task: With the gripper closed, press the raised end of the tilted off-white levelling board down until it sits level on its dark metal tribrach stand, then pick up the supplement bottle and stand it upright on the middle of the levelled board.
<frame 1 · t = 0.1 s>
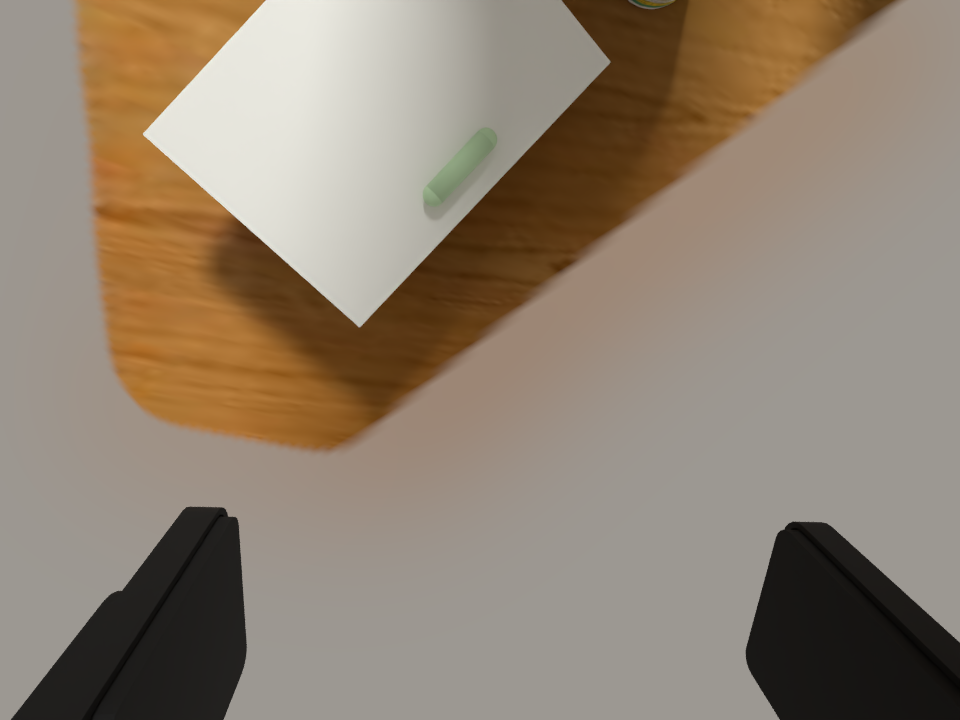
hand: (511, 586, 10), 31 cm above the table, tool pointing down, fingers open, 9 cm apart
level board: (389, 96, 30), point 6 cm above the table, hinge at 9.0°
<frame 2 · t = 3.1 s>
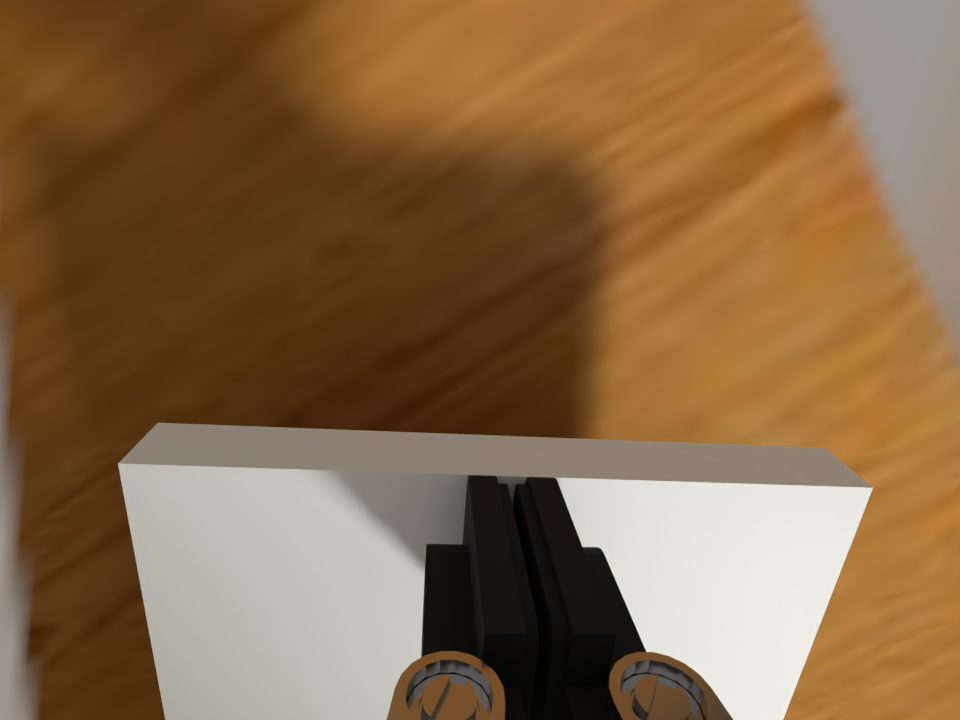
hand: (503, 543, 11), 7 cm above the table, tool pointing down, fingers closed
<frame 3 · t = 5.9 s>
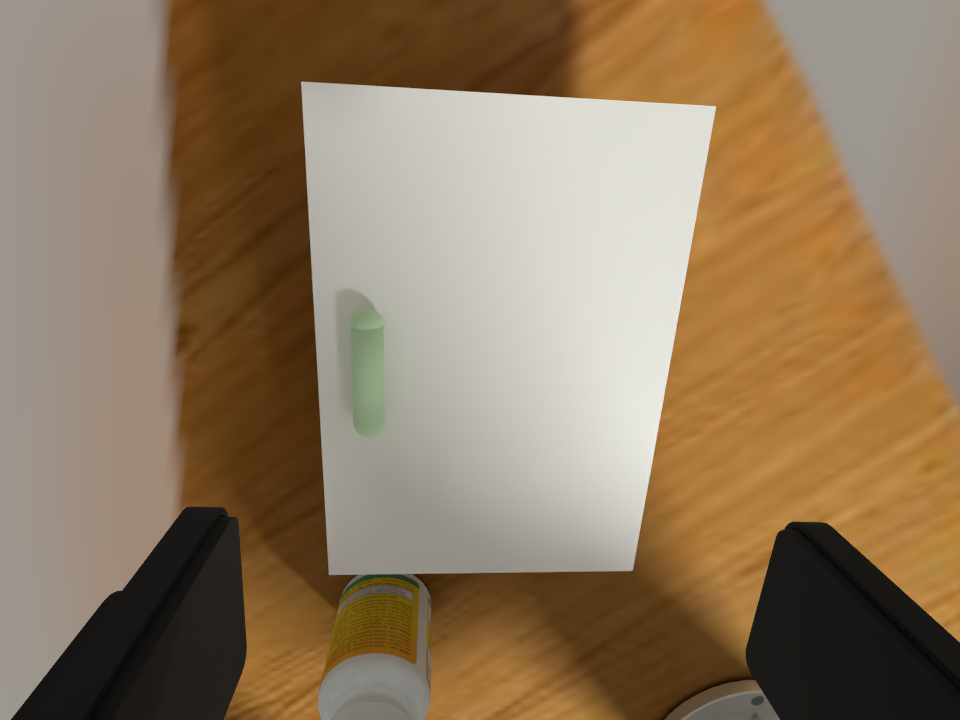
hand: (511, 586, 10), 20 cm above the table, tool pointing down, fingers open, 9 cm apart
supplement bottle: (386, 597, 34), on the table
level board: (496, 369, 23), point 6 cm above the table, hinge at 2.0°
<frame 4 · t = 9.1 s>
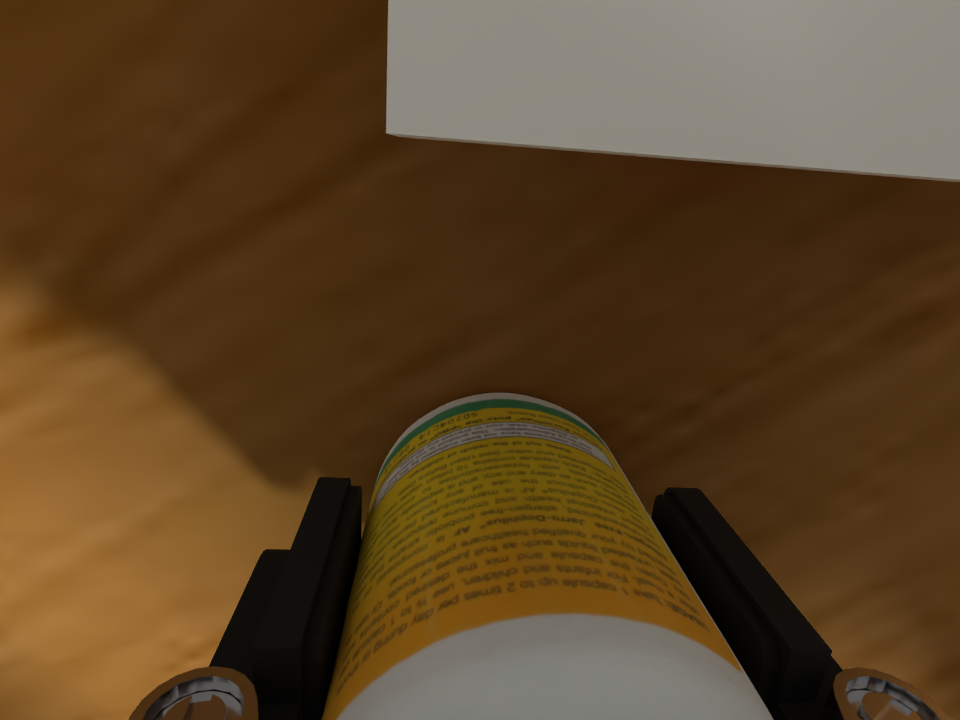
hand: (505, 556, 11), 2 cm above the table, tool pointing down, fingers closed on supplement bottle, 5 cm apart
supplement bottle: (494, 492, 13), on the table, touching gripper
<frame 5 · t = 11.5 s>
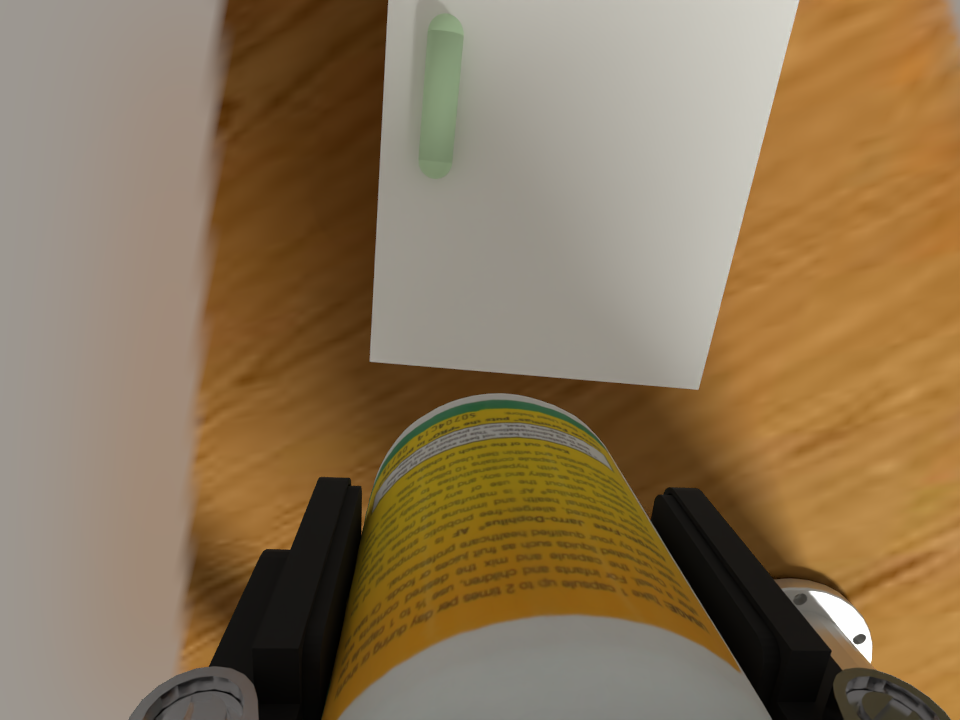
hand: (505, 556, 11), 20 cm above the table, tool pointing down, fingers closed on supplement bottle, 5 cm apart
supplement bottle: (493, 493, 13), point 17 cm above the table, touching gripper
level board: (577, 119, 21), point 6 cm above the table, hinge at 2.0°
when the fingers open (10 cm above the table, at t = 14.3 s): supplement bottle drops 1 cm, resting on level board.
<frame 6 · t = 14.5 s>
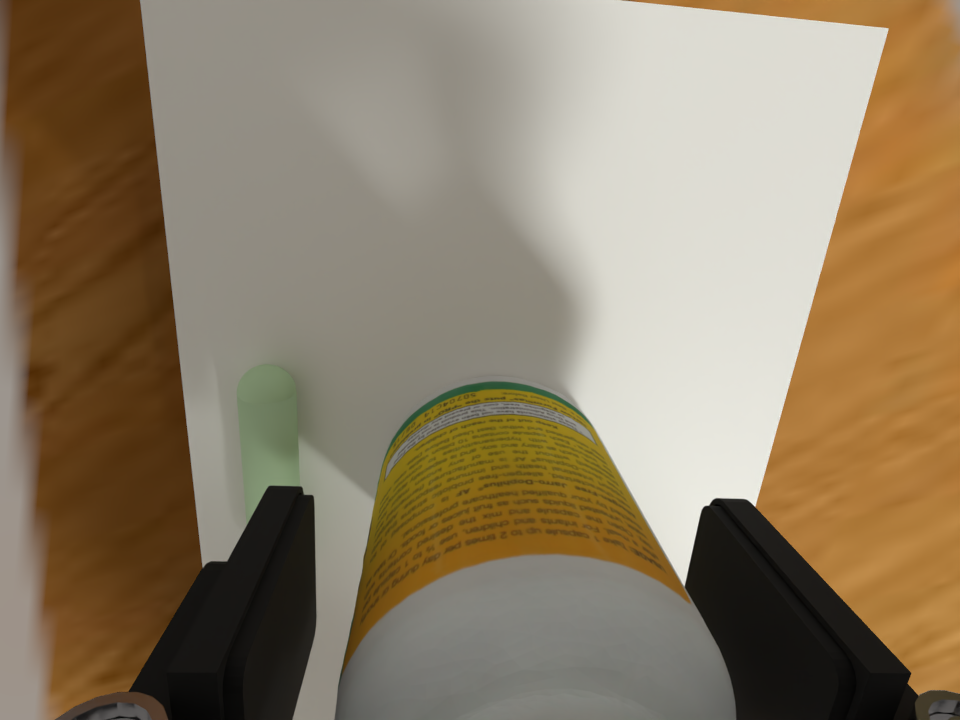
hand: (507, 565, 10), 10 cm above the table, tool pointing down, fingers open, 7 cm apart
supplement bottle: (491, 465, 14), point 6 cm above the table, touching level board
level board: (489, 463, 14), point 6 cm above the table, hinge at 2.0°, touching supplement bottle
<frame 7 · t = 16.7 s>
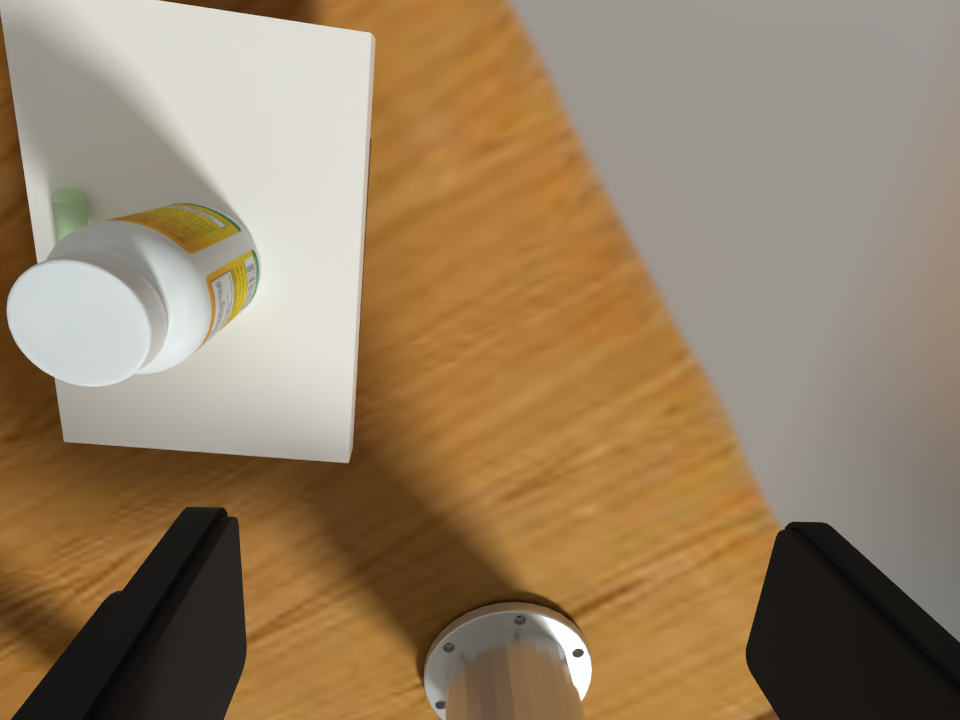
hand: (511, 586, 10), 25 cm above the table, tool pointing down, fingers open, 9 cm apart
supplement bottle: (204, 260, 26), point 6 cm above the table, touching level board
level board: (202, 258, 26), point 6 cm above the table, hinge at 2.0°, touching supplement bottle
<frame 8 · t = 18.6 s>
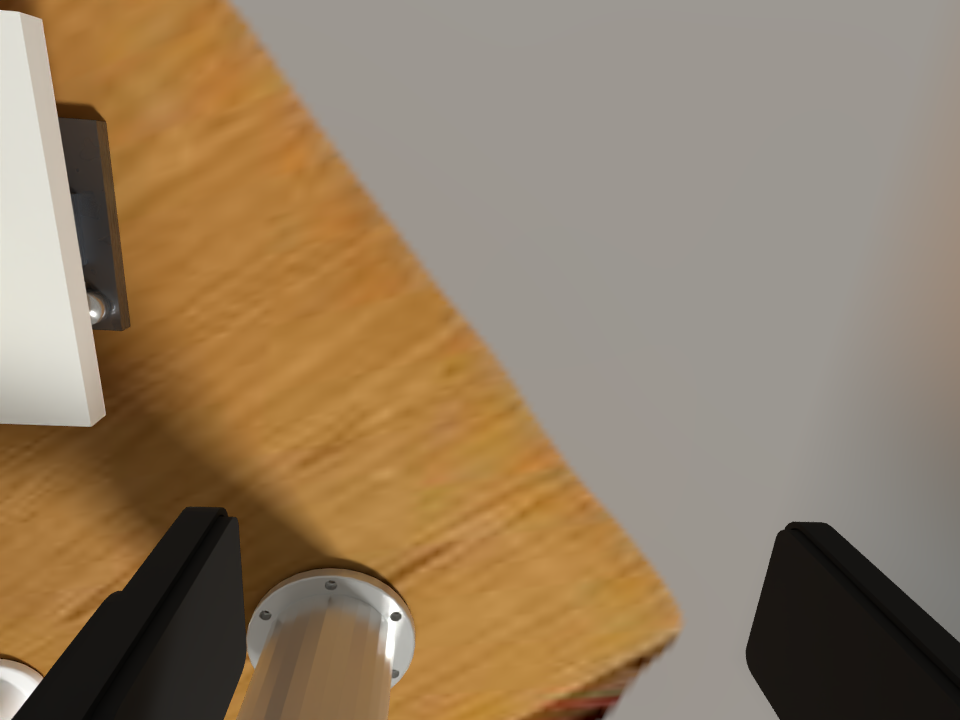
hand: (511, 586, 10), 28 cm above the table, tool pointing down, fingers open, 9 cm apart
tribrach base: (2, 222, 34), on the table
candle: (7, 691, 44), on the table
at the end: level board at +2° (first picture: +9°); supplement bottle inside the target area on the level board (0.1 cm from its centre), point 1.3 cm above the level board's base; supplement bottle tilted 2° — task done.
